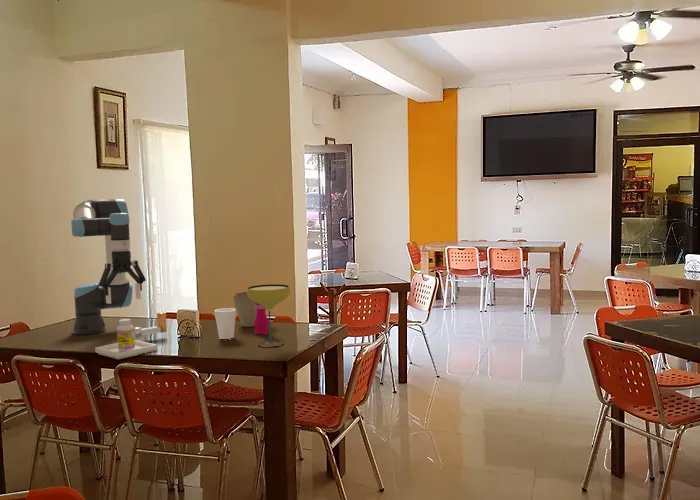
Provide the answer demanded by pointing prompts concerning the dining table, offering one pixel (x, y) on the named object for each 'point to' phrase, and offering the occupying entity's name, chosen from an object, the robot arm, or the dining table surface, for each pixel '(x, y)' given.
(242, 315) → the plant pot
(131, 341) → the supplement bottle
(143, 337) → the crank base
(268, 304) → the cocktail glass
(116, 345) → the tray
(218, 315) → the foam cup
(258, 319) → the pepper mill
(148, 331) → the crank lever
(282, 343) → the dining table surface
